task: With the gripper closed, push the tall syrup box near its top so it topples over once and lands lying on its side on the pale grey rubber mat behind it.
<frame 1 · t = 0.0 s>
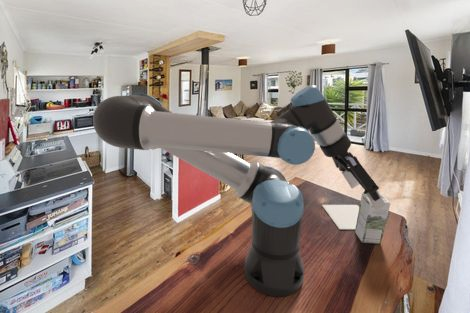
hand: (366, 195, 69), 15 cm above the table, tool tilted 35°, fingers open, 13 cm apart
syrup box: (367, 238, 74), on the table
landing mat: (348, 216, 86), on the table
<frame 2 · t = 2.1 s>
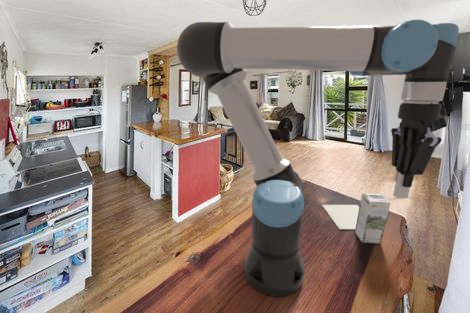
hand: (400, 196, 59), 19 cm above the table, tool pointing down, fingers closed
nothing on the table moved.
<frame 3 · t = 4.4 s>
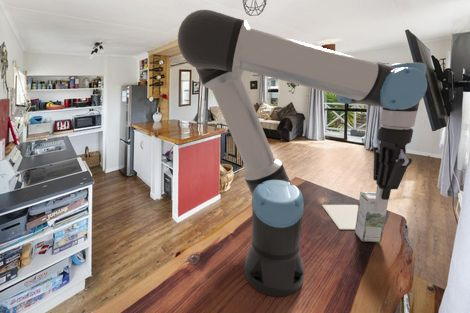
hand: (380, 207, 68), 12 cm above the table, tool pointing down, fingers closed
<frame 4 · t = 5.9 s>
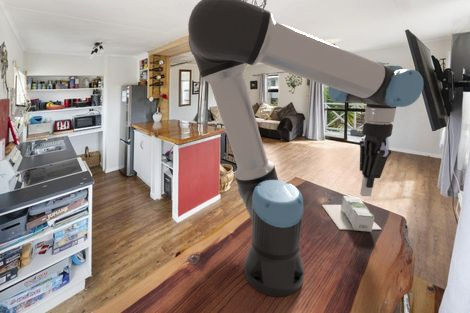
hand: (365, 195, 75), 12 cm above the table, tool pointing down, fingers closed
syrup box: (364, 224, 75), point 3 cm above the table, touching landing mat
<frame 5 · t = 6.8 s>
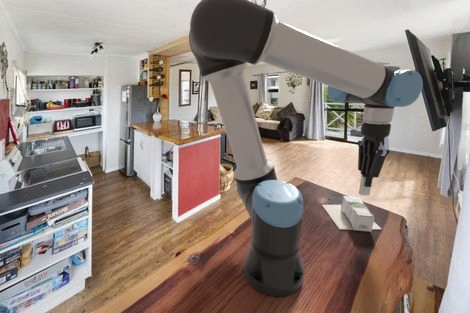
hand: (363, 194, 76), 12 cm above the table, tool pointing down, fingers closed
nothing on the table moved.
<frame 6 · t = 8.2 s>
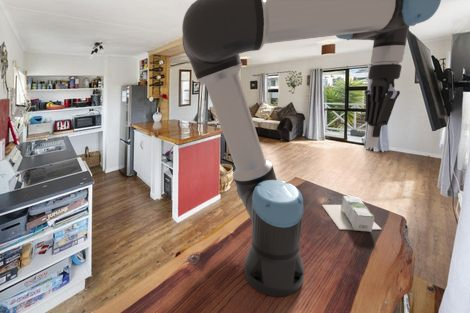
hand: (371, 146, 71), 28 cm above the table, tool pointing down, fingers closed
nothing on the table moved.
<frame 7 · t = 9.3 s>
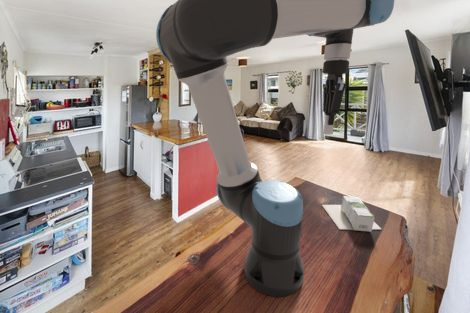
hand: (327, 133, 80), 30 cm above the table, tool pointing down, fingers closed
nothing on the table moved.
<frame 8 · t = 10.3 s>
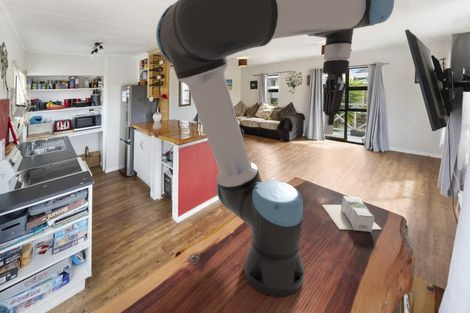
hand: (327, 133, 80), 30 cm above the table, tool pointing down, fingers closed
nothing on the table moved.
at the end: syrup box tilted 90°; syrup box touching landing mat; syrup box inside the target area (2.7 cm from its centre), point 3.4 cm above the table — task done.
